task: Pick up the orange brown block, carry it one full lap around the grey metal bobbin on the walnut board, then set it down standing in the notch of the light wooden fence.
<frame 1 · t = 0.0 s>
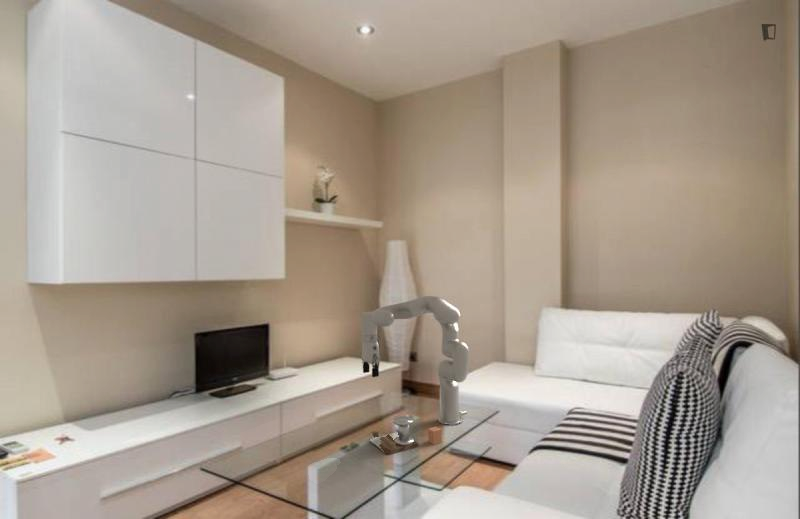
hand: (370, 374, 211), 31 cm above the table, tool pointing down, fingers open, 9 cm apart
orange brown block: (435, 442, 206), on the table
winding board: (393, 443, 206), on the table
bobbin: (404, 441, 204), resting on winding board
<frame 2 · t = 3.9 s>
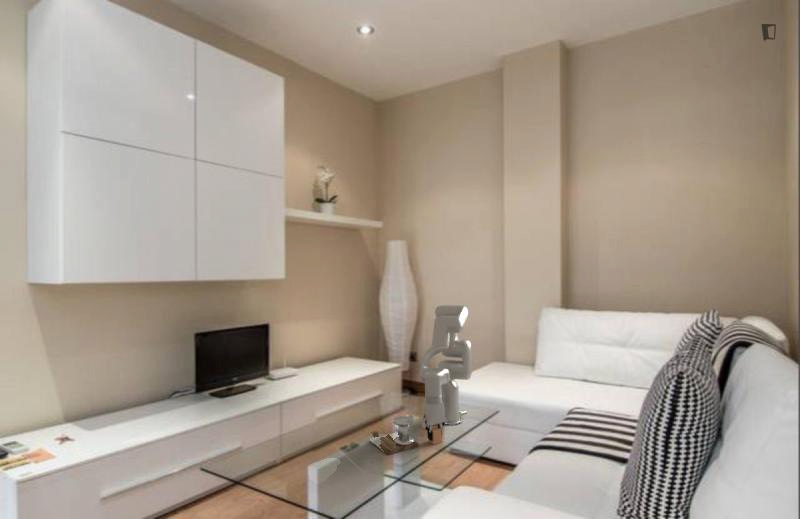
hand: (434, 438, 206), 2 cm above the table, tool pointing down, fingers closed on orange brown block, 4 cm apart
orange brown block: (435, 441, 206), on the table, touching gripper
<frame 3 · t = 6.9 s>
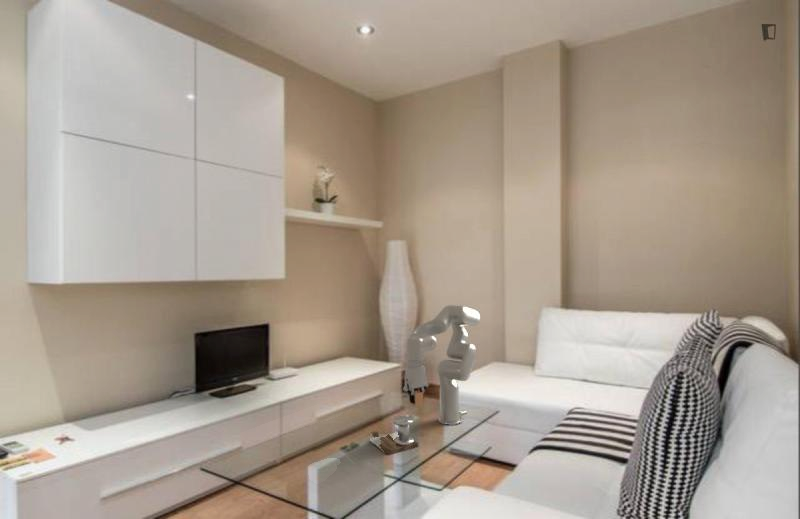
hand: (416, 401, 211), 17 cm above the table, tool pointing down, fingers closed on orange brown block, 4 cm apart
orange brown block: (417, 405, 211), point 16 cm above the table, touching gripper
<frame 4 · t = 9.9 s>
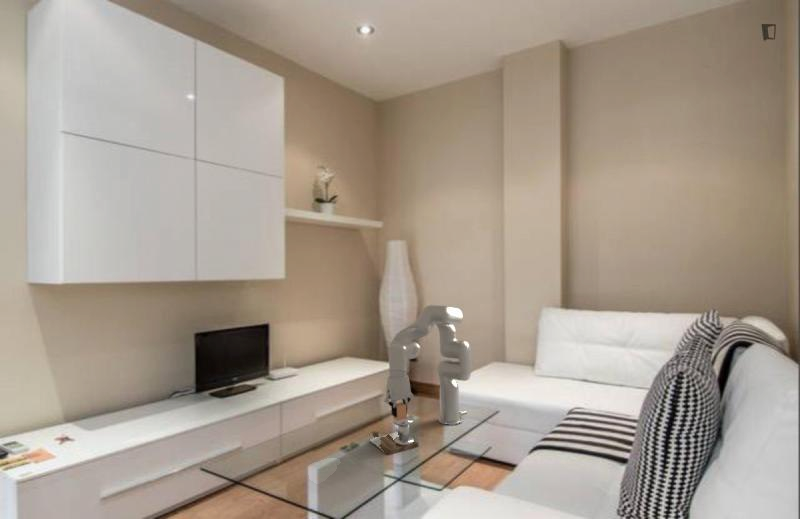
hand: (399, 414, 195), 17 cm above the table, tool pointing down, fingers closed on orange brown block, 4 cm apart
orange brown block: (399, 418, 195), point 15 cm above the table, touching gripper
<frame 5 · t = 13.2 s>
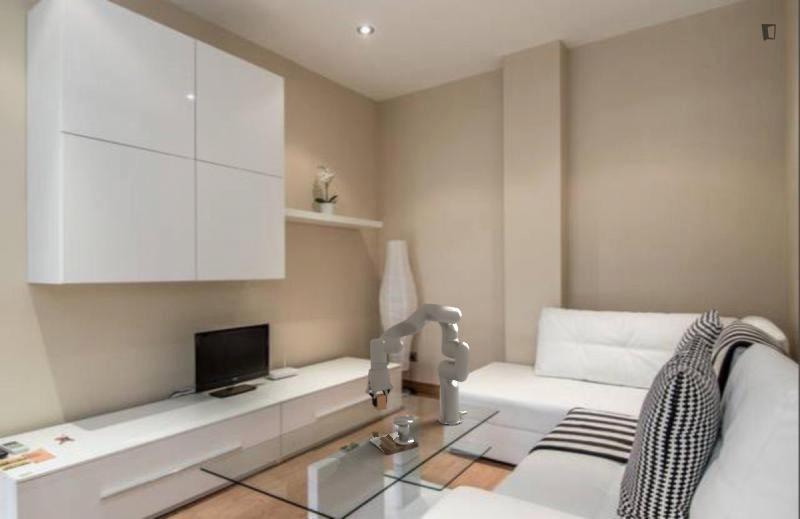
hand: (379, 404, 207), 18 cm above the table, tool pointing down, fingers closed on orange brown block, 4 cm apart
orange brown block: (380, 408, 207), point 16 cm above the table, touching gripper
when the fingers open (4 cm above the table, at t = 16.2 s): orange brown block drops 1 cm, resting on winding board.
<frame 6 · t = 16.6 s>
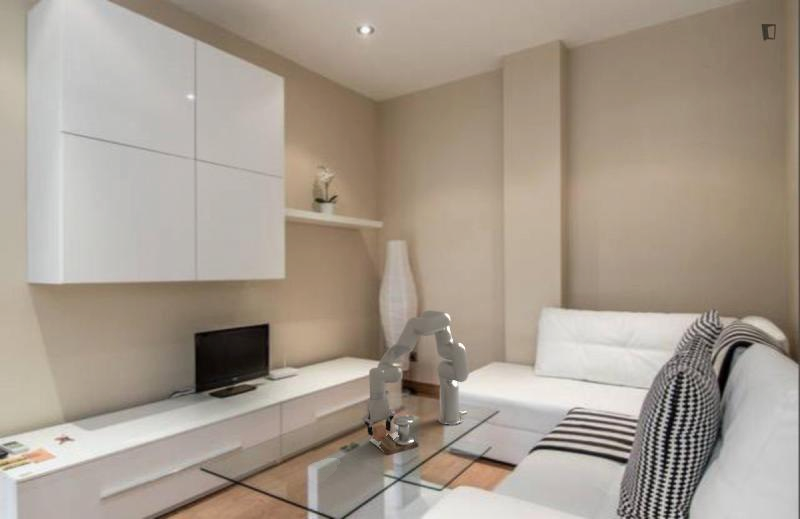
hand: (379, 432, 207), 5 cm above the table, tool pointing down, fingers open, 8 cm apart
orange brown block: (379, 440, 207), point 1 cm above the table, touching winding board
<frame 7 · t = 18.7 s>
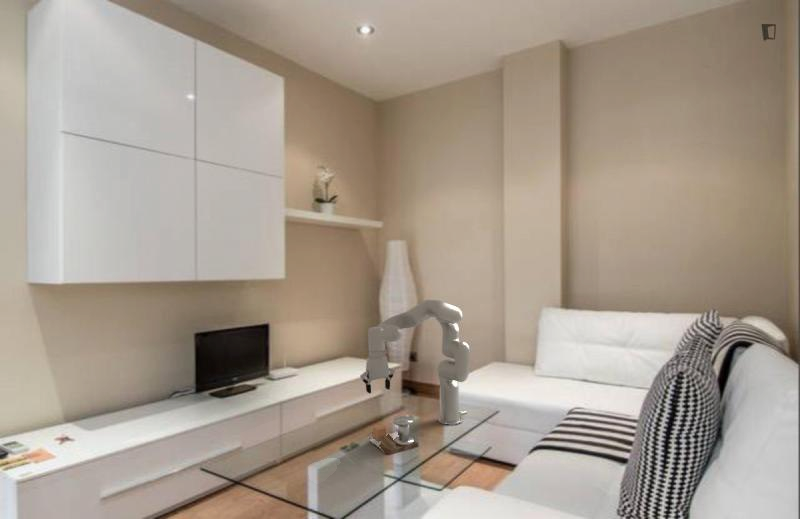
hand: (378, 390, 207), 24 cm above the table, tool pointing down, fingers open, 9 cm apart
nothing on the table moved.
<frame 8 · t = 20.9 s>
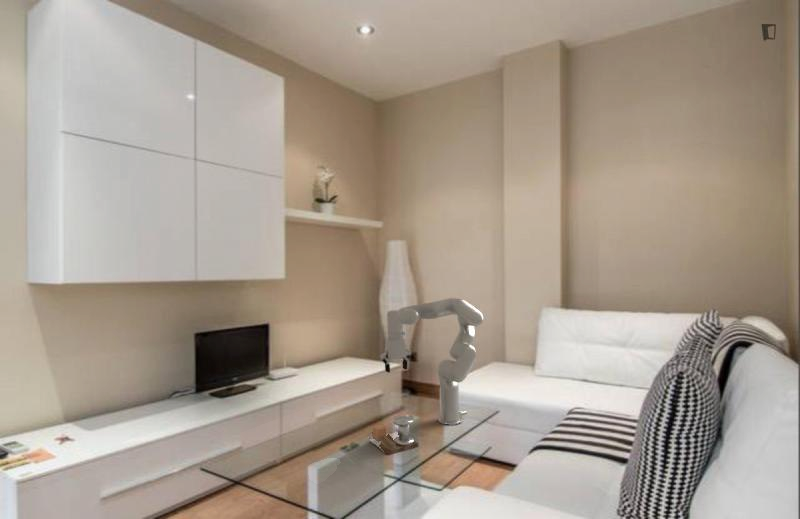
hand: (396, 370, 220), 30 cm above the table, tool pointing down, fingers open, 9 cm apart
nothing on the table moved.
at the end: orange brown block 0.1 cm from the target spot on the winding board, point 1.5 cm above the winding board's base; orange brown block tilted 0°; the gripper is holding nothing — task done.
